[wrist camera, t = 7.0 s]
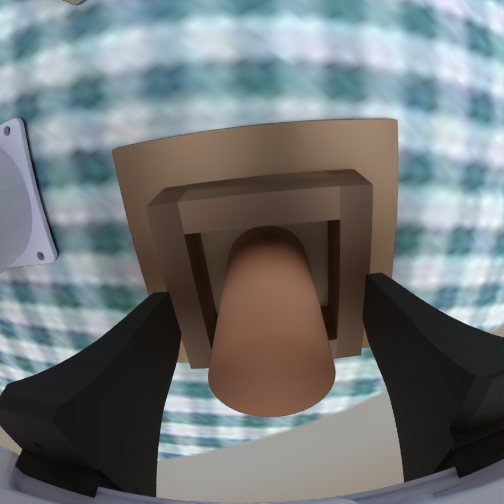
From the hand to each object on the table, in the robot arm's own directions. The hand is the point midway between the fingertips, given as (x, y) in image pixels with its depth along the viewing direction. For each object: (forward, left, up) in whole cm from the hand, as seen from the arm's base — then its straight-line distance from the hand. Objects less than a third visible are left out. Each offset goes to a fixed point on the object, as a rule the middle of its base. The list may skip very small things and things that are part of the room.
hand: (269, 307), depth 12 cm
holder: (0, 0, -4) cm, 4 cm away
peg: (0, 0, -3) cm, 3 cm away
